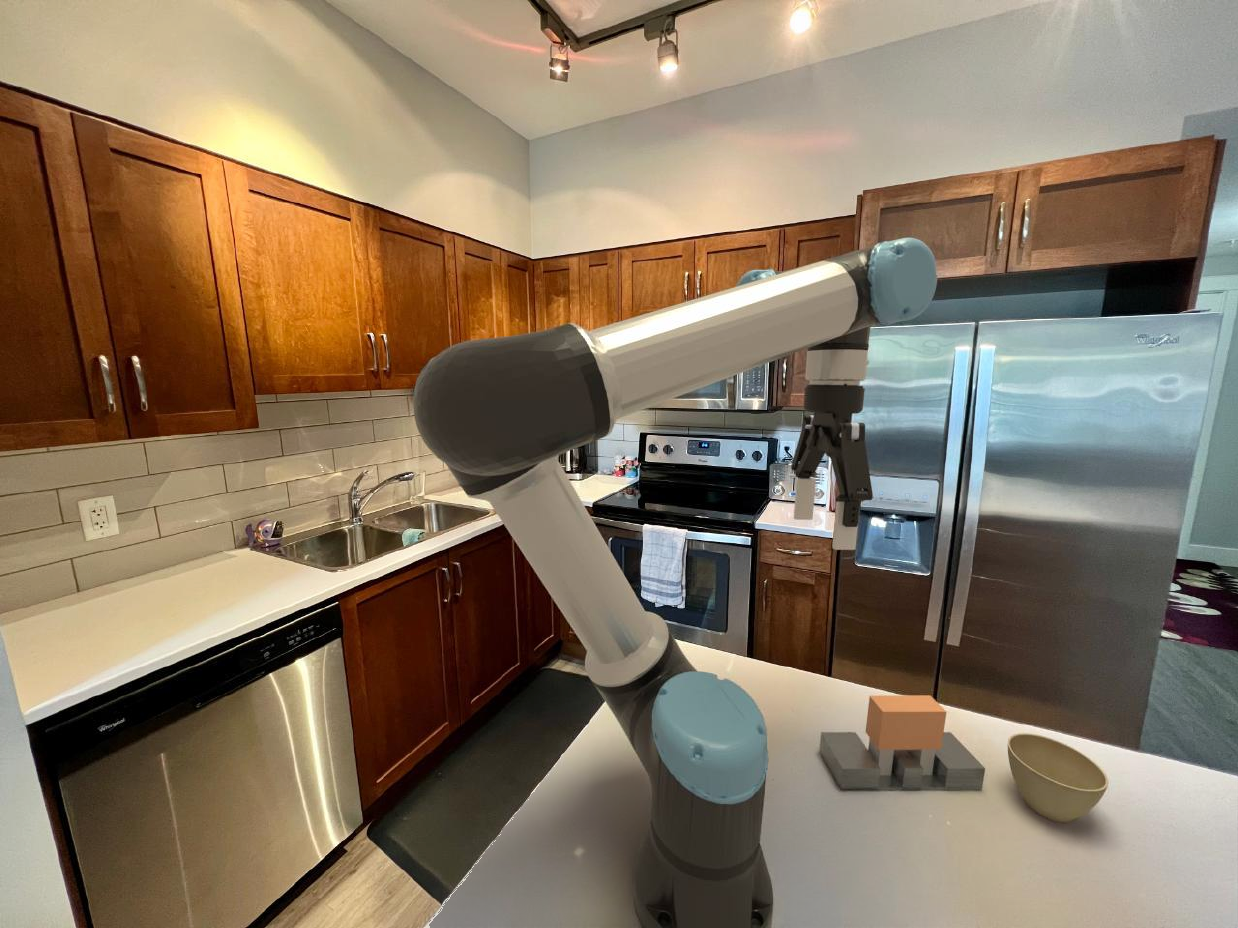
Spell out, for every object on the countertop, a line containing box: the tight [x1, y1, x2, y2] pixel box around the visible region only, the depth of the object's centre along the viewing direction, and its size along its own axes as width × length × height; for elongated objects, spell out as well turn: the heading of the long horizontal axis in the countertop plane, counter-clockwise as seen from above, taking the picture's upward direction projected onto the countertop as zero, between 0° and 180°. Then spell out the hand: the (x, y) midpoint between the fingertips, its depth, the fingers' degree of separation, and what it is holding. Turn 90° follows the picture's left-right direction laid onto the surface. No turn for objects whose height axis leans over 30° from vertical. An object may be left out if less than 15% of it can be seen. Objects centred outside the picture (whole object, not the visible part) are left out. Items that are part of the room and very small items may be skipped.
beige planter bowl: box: [1007, 732, 1109, 823], centre depth 65 cm, size 10×10×7 cm
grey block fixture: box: [818, 731, 986, 792], centre depth 71 cm, size 20×7×4 cm, turn 91°
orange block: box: [865, 694, 947, 775], centre depth 70 cm, size 9×4×10 cm, turn 91°
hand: (821, 532), depth 70 cm, fingers open, 13 cm apart
